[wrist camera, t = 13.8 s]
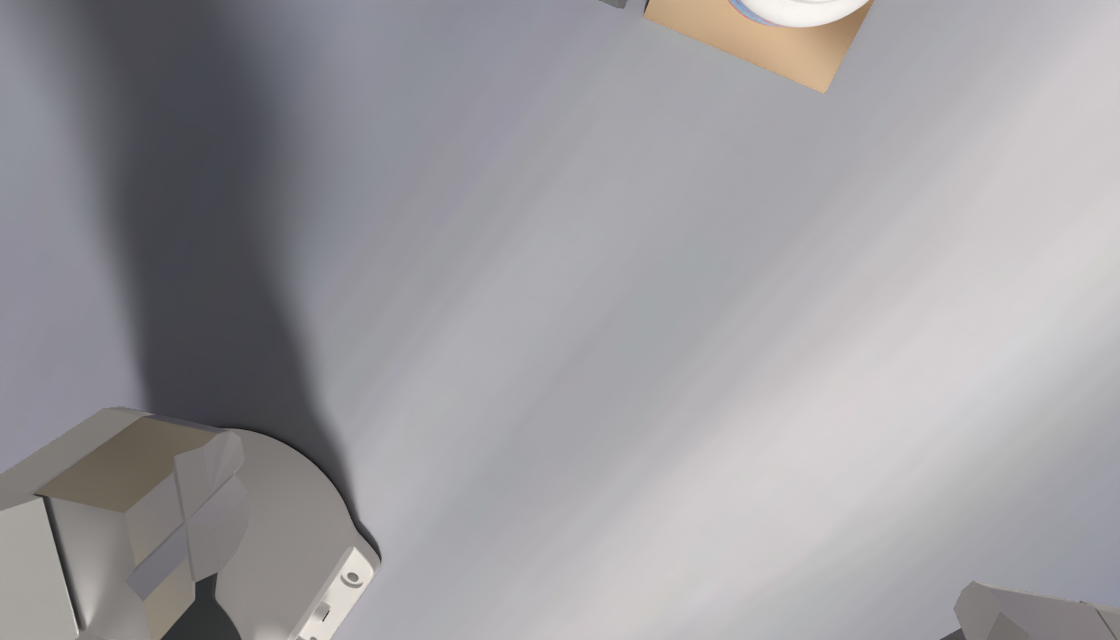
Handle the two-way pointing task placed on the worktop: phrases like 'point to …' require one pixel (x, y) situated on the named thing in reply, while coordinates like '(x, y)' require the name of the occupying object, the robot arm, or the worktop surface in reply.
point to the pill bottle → (795, 11)
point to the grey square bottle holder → (615, 3)
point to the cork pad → (764, 38)
